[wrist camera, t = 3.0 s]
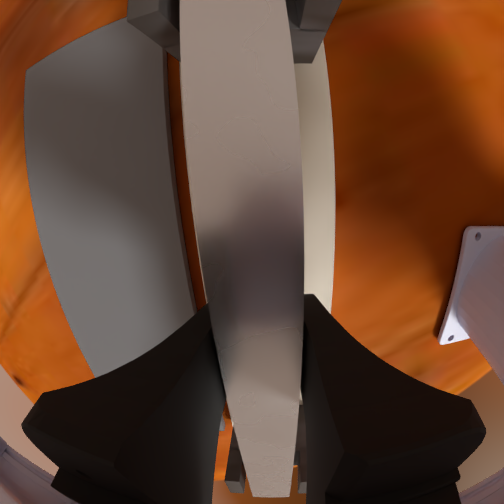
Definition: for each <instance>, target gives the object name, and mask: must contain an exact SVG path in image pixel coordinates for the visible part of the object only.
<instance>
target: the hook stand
mask: <svg viewBox="0 0 504 504" xmlns="http://www.w3.org/2000/svg"><path fill="white" fill-rule="evenodd" d="M341 1H342V0H285V2H286V8H287V15H288V22H289V29H290V36H291V44H292V52H293V61H294V70H295V80H296V90H297V101H298V113H299V126H300V141H301V157H302V178H303V205H304V294H314V295H315V296H316V297H317V298H318V299H319V301H320V302H321V303H322V304H323V306H324V307H325V308H326V309H327V310H328V312H329V313H330V314H331V303H332V289H333V272H334V248H335V165H334V142H333V125H332V112H331V100H330V90H329V81H328V72H327V64H326V56H325V49H324V42H323V39H324V37H325V35H326V33H327V30H328V28H329V26H330V24H331V22H332V20H333V18H334V16H335V14H336V12H337V10H338V8H339V5H340V3H341ZM127 22H128V23H130V24H131V25H133V26H134V27H135V28H137V29H138V30H140V31H141V32H142V33H144V34H145V35H146V36H148V37H149V38H150V39H152V40H153V41H154V42H156V43H157V44H158V45H160V46H161V47H162V48H163V49H165V50H166V51H167V52H168V53H170V54H171V55H172V56H173V57H175V58H176V59H177V60H178V61H179V65H180V85H181V102H182V116H183V129H184V140H185V151H186V161H187V171H188V180H189V189H190V197H191V205H192V213H193V220H194V228H195V235H196V242H197V249H198V255H199V262H200V268H201V274H202V280H203V286H204V292H205V298H206V304H207V303H208V302H207V296H206V291H205V285H204V279H203V272H202V266H201V260H200V253H199V246H198V239H197V232H196V225H195V217H194V210H193V202H192V193H191V185H190V176H189V167H188V157H187V146H186V135H185V123H184V110H183V95H182V77H181V54H180V0H128V8H127ZM226 400H227V398H226ZM227 404H228V401H227ZM228 409H229V405H228ZM229 413H230V409H229ZM230 417H231V413H230ZM231 421H232V417H231ZM232 425H233V421H232ZM293 465H298V493H306V487H307V459H306V425H305V415H304V408H303V402H302V396H301V390H300V399H299V412H298V424H297V435H296V445H295V454H294V463H293ZM245 479H246V471H245V467H244V463H243V460H242V456H241V452H240V449H239V445H238V441H237V437H236V433H235V429H234V425H233V431H232V437H231V444H230V450H229V456H228V462H227V469H226V475H225V483H226V485H227V486H228V488H229V490H230V492H233V493H244V488H245Z"/></svg>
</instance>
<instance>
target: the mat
mask: <svg viewBox="0 0 504 504" xmlns="http://www.w3.org/2000/svg"><path fill="white" fill-rule="evenodd" d="M24 138H25V153H26V164H27V173H28V180H29V187H30V194H31V200H32V205H33V210H34V215H35V220H36V225H37V229H38V233H39V237H40V241H41V245H42V249H43V252H44V256H45V259H46V263H47V266H48V269H49V272H50V275H51V278H52V281H53V284H54V287H55V290H56V293H57V296H58V298H59V301H60V303H61V306H62V309H63V311H64V314H65V316H66V318H67V321H68V323H69V325H70V328H71V330H72V332H73V334H74V337H75V339H76V341H77V343H78V345H79V347H80V349H81V351H82V353H83V355H84V357H85V359H86V361H87V363H88V365H89V367H90V369H91V370H92V372H93V374H94V376H95V378H96V377H99V376H101V375H104V374H106V373H108V372H111V371H113V370H115V369H117V368H119V367H120V366H122V365H124V364H126V363H128V362H130V361H132V360H134V359H136V358H138V357H139V356H141V355H143V354H144V353H146V352H147V351H149V350H151V349H152V348H154V347H155V346H156V345H158V344H159V343H161V342H162V341H163V340H165V339H166V338H167V337H169V336H170V335H171V334H172V333H174V332H175V331H176V330H177V329H179V328H180V327H181V326H182V325H184V324H185V323H186V322H187V321H188V320H189V319H190V318H191V317H192V316H194V315H195V314H196V313H197V308H196V303H195V298H194V292H193V287H192V282H191V276H190V271H189V265H188V259H187V253H186V247H185V241H184V235H183V228H182V221H181V214H180V207H179V199H178V192H177V184H176V175H175V166H174V157H173V146H172V135H171V123H170V110H169V94H168V72H167V51H166V50H165V49H163V48H162V47H161V46H160V45H158V44H157V43H156V42H154V41H153V40H152V39H150V38H149V37H148V36H146V35H145V34H144V33H142V32H141V31H140V30H138V29H137V28H135V27H134V26H133V25H131V24H130V23H128V22H127V17H125V18H122V19H120V20H117V21H115V22H112V23H110V24H108V25H105V26H103V27H101V28H99V29H97V30H94V31H92V32H90V33H88V34H86V35H84V36H82V37H80V38H78V39H76V40H74V41H73V42H71V43H69V44H67V45H65V46H64V47H62V48H60V49H58V50H57V51H55V52H53V53H52V54H50V55H48V56H47V57H45V58H44V59H42V60H41V61H39V62H38V63H36V64H35V65H33V66H32V67H30V68H29V69H27V70H26V76H25V91H24ZM224 429H225V423H224V419H223V416H222V418H221V423H220V429H219V431H224Z"/></svg>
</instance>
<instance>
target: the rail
mask: <svg viewBox="0 0 504 504" xmlns="http://www.w3.org/2000/svg"><path fill="white" fill-rule="evenodd" d="M180 54H181V77H182V95H183V110H184V123H185V135H186V146H187V157H188V167H189V176H190V185H191V193H192V202H193V210H194V217H195V225H196V232H197V239H198V246H199V253H200V260H201V266H202V272H203V279H204V285H205V291H206V296H207V302H208V308H209V313H210V319H211V324H212V329H213V335H214V340H215V345H216V350H217V355H218V360H219V364H220V369H221V374H222V378H223V383H224V387H225V392H226V396H227V401H228V405H229V409H230V413H231V417H232V421H233V425H234V429H235V433H236V437H237V441H238V445H239V449H240V452H241V456H242V460H243V463H244V467H245V471H246V474H247V478H248V481H249V484H250V488H251V491H252V494H253V497H289V494H290V487H291V479H292V471H293V463H294V454H295V445H296V435H297V424H298V412H299V399H300V385H301V368H302V348H303V321H304V205H303V178H302V157H301V141H300V126H299V113H298V101H297V90H296V80H295V70H294V61H293V52H292V44H291V36H290V29H289V22H288V15H287V8H286V2H285V0H180Z"/></svg>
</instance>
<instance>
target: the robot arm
mask: <svg viewBox="0 0 504 504" xmlns="http://www.w3.org/2000/svg"><path fill="white" fill-rule="evenodd" d="M476 234H477V237H476V238H475V236H476ZM468 338H471V340H472V341H473V342H474V344H475V345H476V346H477V348H478V349H479V350H480V352H481V353H482V354H483V356H484V357H485V358H486V360H487V361H488V363H489V364H490V366H491V367H492V368H493V370H494V371H495V373H496V374H497V376H498V377H499V379H500V380H501V381H502V383H503V385H504V226H469V227H467V228H466V229H465V231H464V234H463V240H462V246H461V252H460V257H459V262H458V267H457V272H456V276H455V281H454V285H453V289H452V293H451V296H450V300H449V304H448V307H447V311H446V314H445V317H444V320H443V323H442V327H441V330H440V332H439V335H438V339H437V340H438V342H439V344H441V345H444V344H448V343H453V342H457V341H461V340H464V339H468ZM300 390H301V396H302V402H303V408H304V415H305V425H306V459H307V487H306V504H504V468H502V469H501V470H499V471H498V472H496V473H495V474H493V475H491V476H490V477H488V478H486V479H485V480H483V481H481V482H479V483H478V484H476V485H474V486H472V487H470V488H468V489H467V490H464V491H462V492H460V493H458V490H457V487H456V483H455V482H457V481H458V480H459V479H460V474H459V471H458V468H457V467H458V466H460V465H461V464H462V463H463V462H464V461H465V460H466V459H467V458H468V457H469V456H470V455H471V454H472V453H473V452H474V451H475V450H476V449H477V448H478V446H479V445H480V444H481V443H482V441H483V439H484V437H485V435H486V428H485V426H484V424H483V422H482V420H481V418H480V416H479V414H478V412H477V410H476V408H475V407H474V405H473V403H472V402H471V400H469V399H466V398H463V397H460V396H457V395H454V394H451V393H448V392H445V391H442V390H439V389H436V388H434V387H432V386H429V385H427V384H425V383H423V382H421V381H418V380H416V379H414V378H412V377H410V376H408V375H407V374H405V373H403V372H401V371H400V370H398V369H396V368H394V367H393V366H391V365H389V364H388V363H386V362H385V361H383V360H382V359H380V358H379V357H377V356H376V355H375V354H373V353H372V352H371V351H369V350H368V349H367V348H365V347H364V346H363V345H361V344H360V343H359V342H358V341H357V340H356V339H355V338H354V337H352V336H351V335H350V334H349V333H348V332H347V331H346V330H345V329H344V328H343V327H342V326H341V325H340V324H339V323H338V322H337V321H336V319H335V318H334V317H333V316H332V315H331V314H330V313H329V312H328V310H327V309H326V308H325V307H324V306H323V304H322V303H321V302H320V301H319V299H318V298H317V297H316V296H315V295H314V294H304V321H303V348H302V368H301V385H300ZM226 398H227V396H226V392H225V387H224V383H223V378H222V374H221V369H220V364H219V360H218V355H217V350H216V345H215V340H214V335H213V329H212V324H211V319H210V313H209V308H208V303H207V304H206V305H204V306H203V307H202V308H201V309H200V310H199V311H198V312H197V313H196V314H195V315H194V316H192V317H191V318H190V319H189V320H188V321H187V322H186V323H185V324H184V325H182V326H181V327H180V328H179V329H177V330H176V331H175V332H174V333H172V334H171V335H170V336H169V337H167V338H166V339H165V340H163V341H162V342H161V343H159V344H158V345H156V346H155V347H154V348H152V349H151V350H149V351H147V352H146V353H144V354H143V355H141V356H139V357H138V358H136V359H134V360H132V361H130V362H128V363H126V364H124V365H122V366H120V367H119V368H117V369H115V370H113V371H111V372H108V373H106V374H104V375H101V376H99V377H96V378H94V379H91V380H88V381H85V382H82V383H79V384H76V385H73V386H69V387H65V388H61V389H57V390H53V391H49V392H44V393H42V395H41V396H40V397H39V399H38V400H37V402H36V403H35V405H34V406H33V407H32V409H31V410H30V412H29V413H28V415H27V416H26V418H25V419H24V421H23V422H22V424H21V425H22V429H23V431H24V433H25V434H26V436H27V437H28V438H29V439H30V440H31V442H32V443H33V444H34V445H35V446H36V447H37V448H38V449H39V450H40V451H42V452H43V453H44V454H45V455H46V456H47V457H48V458H49V459H50V460H51V461H52V462H53V463H55V464H56V465H57V466H58V467H59V469H58V471H57V474H56V475H55V476H53V475H51V474H49V473H48V472H46V471H45V470H43V469H41V468H40V467H38V466H37V465H35V464H34V463H32V462H31V461H29V460H28V459H26V458H25V457H23V456H22V455H21V454H19V453H18V452H16V451H15V450H14V449H12V448H11V447H10V446H9V445H7V443H6V442H5V441H4V440H3V439H2V438H1V437H0V504H212V492H213V481H214V470H215V461H216V452H217V444H218V436H219V429H220V423H221V418H222V413H223V410H224V406H225V402H226Z"/></svg>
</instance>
